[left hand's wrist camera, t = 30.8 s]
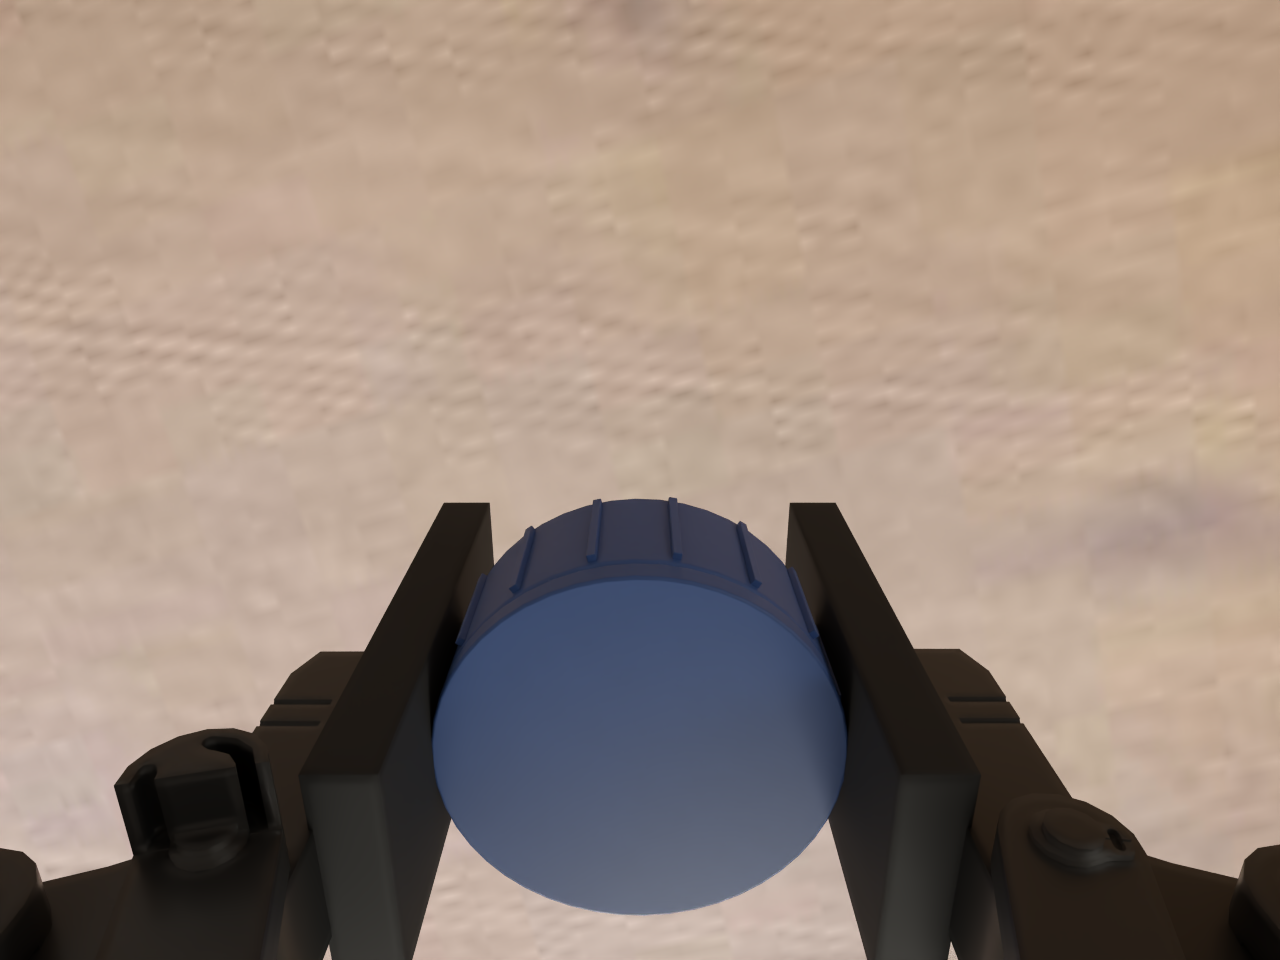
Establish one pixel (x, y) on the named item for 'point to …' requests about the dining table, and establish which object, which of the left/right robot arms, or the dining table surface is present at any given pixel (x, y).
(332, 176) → the dining table surface
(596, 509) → the lid
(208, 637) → the dining table surface
